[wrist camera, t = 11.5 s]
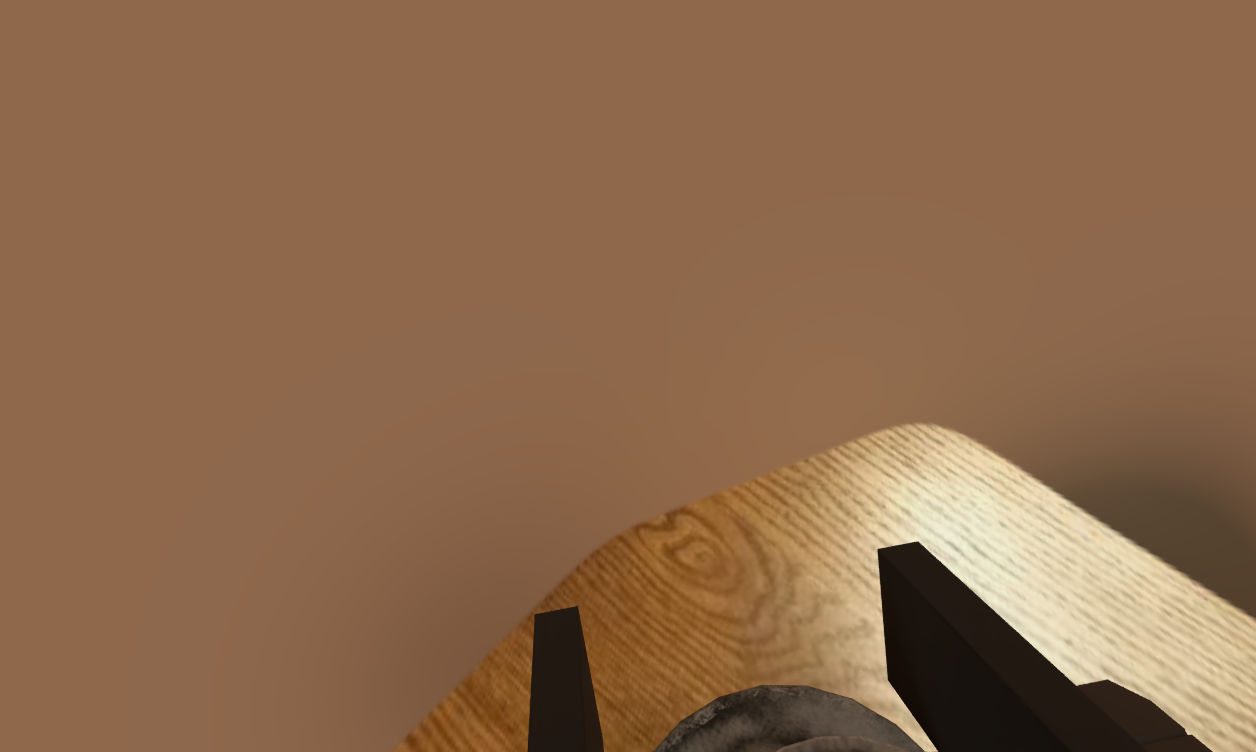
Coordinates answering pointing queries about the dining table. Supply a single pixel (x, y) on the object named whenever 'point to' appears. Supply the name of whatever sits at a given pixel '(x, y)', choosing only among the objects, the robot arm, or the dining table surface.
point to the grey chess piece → (786, 724)
